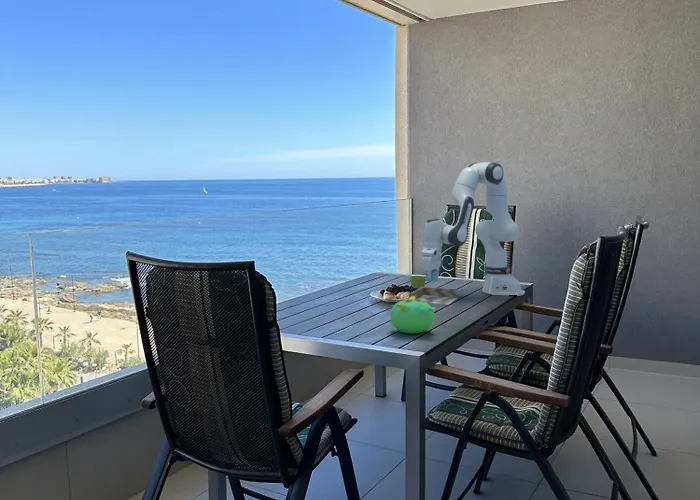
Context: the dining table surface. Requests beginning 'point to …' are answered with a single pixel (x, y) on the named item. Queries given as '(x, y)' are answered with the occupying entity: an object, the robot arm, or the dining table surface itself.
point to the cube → (434, 276)
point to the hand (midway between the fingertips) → (431, 277)
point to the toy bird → (412, 315)
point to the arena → (435, 295)
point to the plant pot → (417, 281)
